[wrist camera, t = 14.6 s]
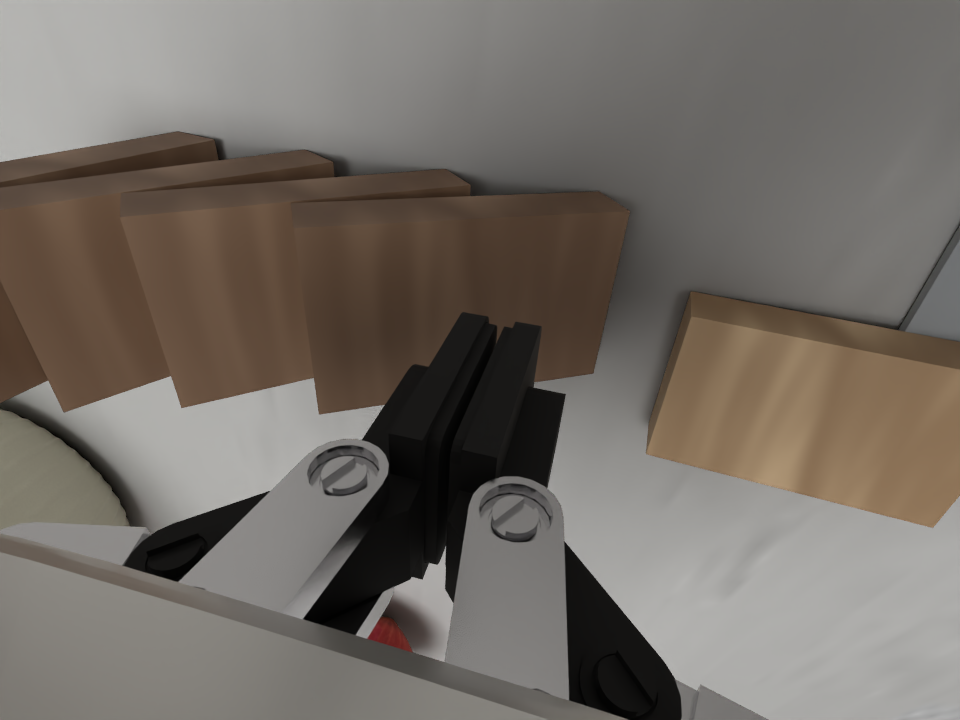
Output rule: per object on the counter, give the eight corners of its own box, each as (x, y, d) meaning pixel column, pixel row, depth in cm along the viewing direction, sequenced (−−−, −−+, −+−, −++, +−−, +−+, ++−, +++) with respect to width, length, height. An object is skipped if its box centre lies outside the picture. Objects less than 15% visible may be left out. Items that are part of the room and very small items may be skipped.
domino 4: (630, 210, 13) (293, 228, 11) (593, 373, 16) (318, 414, 14) (598, 191, 15) (290, 203, 12) (570, 345, 17) (314, 378, 15)
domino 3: (470, 185, 14) (119, 216, 11) (462, 343, 17) (181, 408, 14) (445, 168, 15) (120, 193, 12) (441, 320, 18) (177, 374, 15)
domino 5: (1049, 387, 12) (691, 316, 14) (932, 527, 15) (645, 454, 17) (1015, 352, 14) (690, 291, 15) (913, 487, 16) (648, 422, 18)
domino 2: (333, 161, 15) (-32, 214, 10) (346, 315, 18) (64, 412, 13) (305, 149, 16) (-43, 192, 11) (321, 297, 19) (49, 382, 14)
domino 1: (214, 139, 16) (-131, 208, 10) (243, 287, 19) (-15, 409, 13) (177, 131, 17) (-170, 191, 11) (211, 276, 20) (-50, 388, 14)
